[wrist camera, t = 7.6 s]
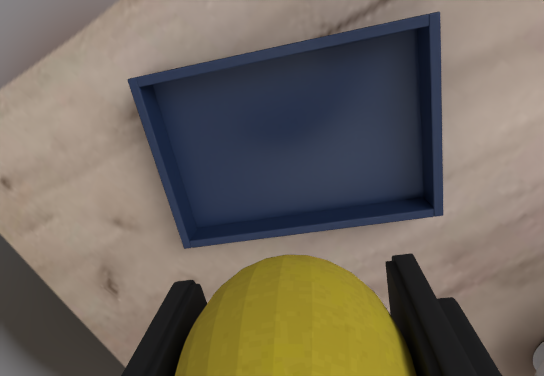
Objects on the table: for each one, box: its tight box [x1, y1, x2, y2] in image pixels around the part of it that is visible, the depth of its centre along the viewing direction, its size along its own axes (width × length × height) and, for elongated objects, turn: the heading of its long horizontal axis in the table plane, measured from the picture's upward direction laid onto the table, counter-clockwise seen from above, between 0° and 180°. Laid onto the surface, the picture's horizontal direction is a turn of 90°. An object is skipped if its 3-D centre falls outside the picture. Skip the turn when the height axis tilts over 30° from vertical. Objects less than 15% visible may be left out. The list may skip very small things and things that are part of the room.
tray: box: [128, 12, 443, 249], centre depth 22 cm, size 18×12×3 cm
